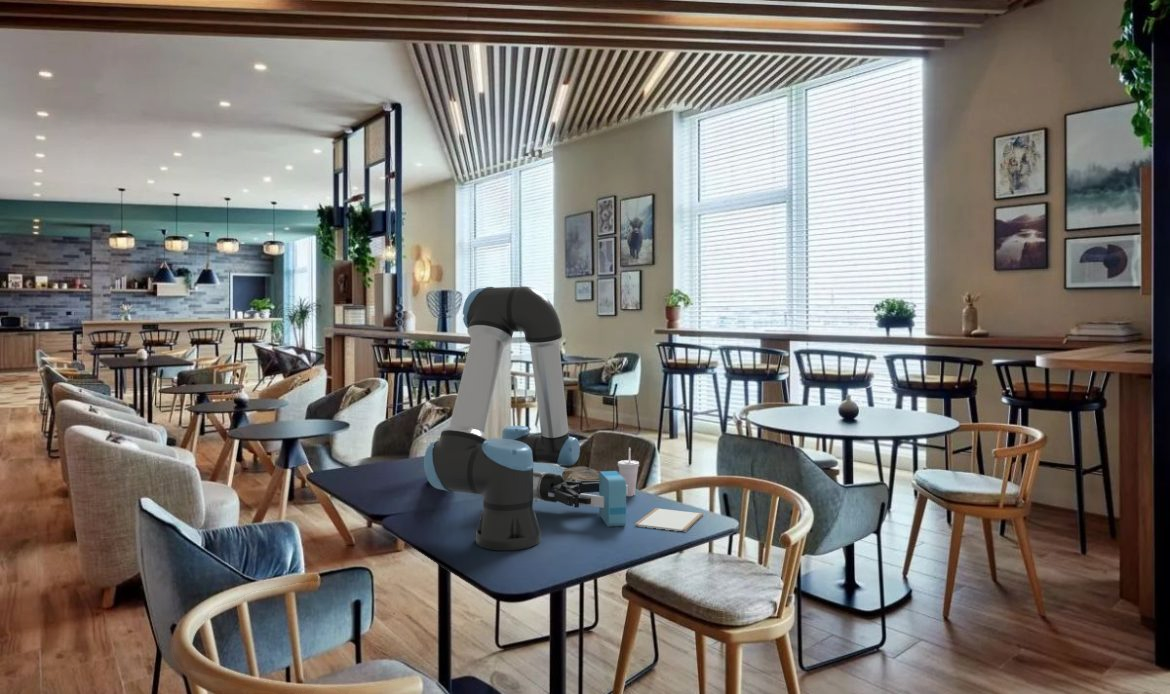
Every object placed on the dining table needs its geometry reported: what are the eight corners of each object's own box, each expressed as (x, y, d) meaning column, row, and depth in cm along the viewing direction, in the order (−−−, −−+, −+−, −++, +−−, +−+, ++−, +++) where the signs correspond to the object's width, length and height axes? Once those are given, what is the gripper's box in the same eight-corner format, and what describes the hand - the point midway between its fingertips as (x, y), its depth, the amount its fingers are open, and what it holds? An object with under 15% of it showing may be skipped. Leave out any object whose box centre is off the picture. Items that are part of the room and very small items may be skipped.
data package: (626, 527, 180) (626, 479, 180) (608, 528, 179) (608, 480, 179) (615, 514, 192) (615, 469, 191) (599, 515, 191) (599, 470, 191)
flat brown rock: (554, 479, 235) (572, 492, 216) (554, 464, 235) (572, 476, 216) (594, 477, 239) (616, 489, 220) (595, 462, 239) (616, 473, 220)
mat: (685, 532, 176) (685, 529, 176) (635, 526, 181) (635, 523, 181) (703, 515, 190) (703, 513, 190) (656, 510, 195) (656, 507, 195)
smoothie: (627, 498, 208) (626, 450, 208) (613, 494, 213) (613, 447, 213) (643, 495, 212) (643, 447, 211) (629, 491, 217) (629, 444, 217)
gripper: (568, 490, 207) (636, 499, 197) (519, 511, 185) (592, 522, 175) (568, 464, 207) (636, 472, 197) (519, 482, 185) (592, 491, 175)
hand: (615, 496), depth 186 cm, fingers open, 13 cm apart
